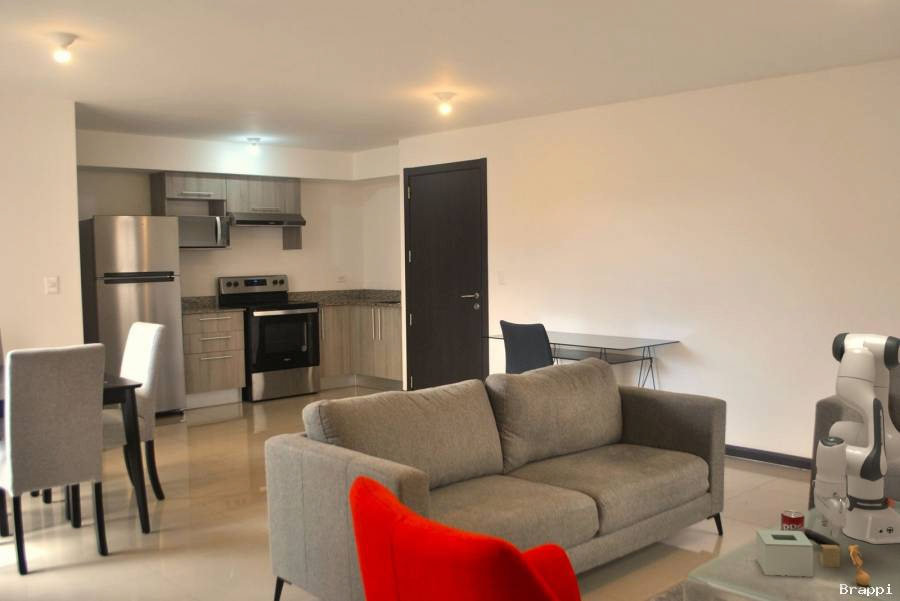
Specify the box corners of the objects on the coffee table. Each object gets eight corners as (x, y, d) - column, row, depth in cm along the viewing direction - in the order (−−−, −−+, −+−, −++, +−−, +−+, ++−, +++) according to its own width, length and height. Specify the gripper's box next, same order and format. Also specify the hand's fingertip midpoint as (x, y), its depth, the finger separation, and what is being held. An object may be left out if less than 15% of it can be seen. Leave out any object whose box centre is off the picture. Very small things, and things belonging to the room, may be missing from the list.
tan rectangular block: (836, 563, 254) (836, 545, 253) (839, 567, 251) (840, 548, 250) (820, 562, 254) (820, 544, 254) (823, 566, 252) (823, 548, 251)
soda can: (806, 552, 262) (806, 517, 261) (783, 551, 264) (783, 516, 263) (801, 544, 269) (801, 510, 269) (778, 543, 271) (778, 509, 270)
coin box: (801, 561, 256) (801, 531, 255) (812, 576, 244) (813, 545, 243) (756, 559, 258) (756, 529, 257) (765, 575, 246) (765, 543, 245)
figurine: (867, 591, 233) (867, 552, 232) (844, 586, 237) (845, 547, 236) (872, 581, 240) (873, 543, 239) (851, 576, 243) (851, 538, 242)
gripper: (852, 499, 240) (851, 544, 241) (830, 480, 260) (829, 521, 261) (830, 498, 241) (829, 542, 242) (810, 479, 261) (809, 520, 262)
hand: (829, 531), depth 251 cm, fingers open, 8 cm apart
